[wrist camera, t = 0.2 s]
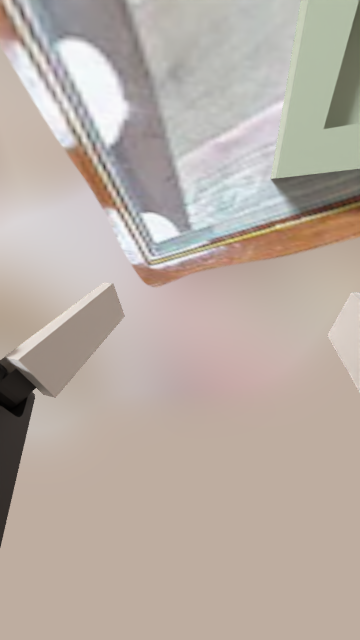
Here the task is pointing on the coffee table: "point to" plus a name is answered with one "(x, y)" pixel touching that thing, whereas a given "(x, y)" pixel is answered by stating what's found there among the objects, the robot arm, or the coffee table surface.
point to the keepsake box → (322, 92)
